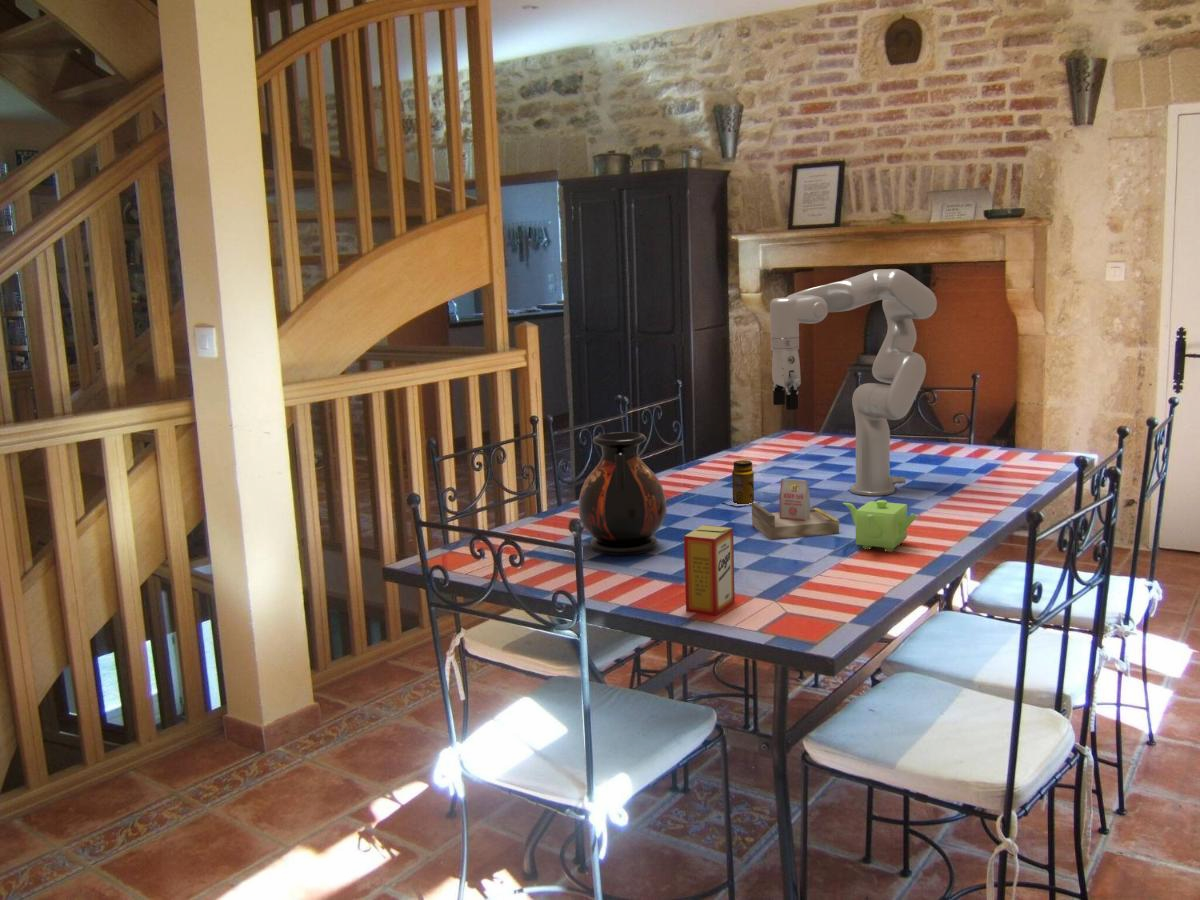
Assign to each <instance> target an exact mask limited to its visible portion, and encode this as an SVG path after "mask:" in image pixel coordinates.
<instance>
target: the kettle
mask: <svg viewBox="0 0 1200 900" xmlns="http://www.w3.org/2000/svg"><path fill="white" fill-rule="evenodd" d="M842 505H844V506H846V507H847V508H848V510H849V511H850V513H851V514H850V515H851V517H852V521H853V525H855V545H859V546H862V547H861V549H862V548H864V549H863V550H866V549H867V550H870V549H869V548H871V549H872V548H873V547H875V548H876V547H877V548H883V549H884V550H886V551H894V552H895V548H896V547H898V546H897V545H900V544H901V543H902V542H903V541H904V540H906V539H907V537H908V536H907V535H908V532H907V531H908V528H909V527H910V526H911V525H912V524H913V522H914V521H915V520H917V518H918V514H915V513H912V512H911V514H910V515H909V516H908V504H906V503H896V502H888V501H887V500H885V499H877V500H876V501H872V500H870V501H868V502H865V504H863V505H862V506H861V507H859V508H858V509H857V508H856V506H855V505H854V504H852V503H849V502H842ZM865 548H866V549H865ZM886 551H885V552H886Z"/></svg>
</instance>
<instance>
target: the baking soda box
mask: <svg viewBox="0 0 1200 900" xmlns="http://www.w3.org/2000/svg"><path fill="white" fill-rule="evenodd" d="M734 549H735V548H734V527H732V526H731V527H730V526H721V525H720V526H719V525H709V524H701V526H699V527H697V528H695V529H693V530H692V531H690V532H688V533H687V534H685V535H684V536H683V552H684V553H683V554H684V556H683V557H684V558H683V559H684V584H685V585H684V587H685V612H688V613H695V614H701V615H708V616H718V615H719V614H721V612H723V611H724V610H725V609H727V608H728V607H729V606H731V605H732V604H733V603H735V599H736V598H735V560H734V559H735V558H734V557H735V555H734V554H735V553H734V551H735V550H734Z"/></svg>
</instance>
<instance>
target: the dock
mask: <svg viewBox="0 0 1200 900" xmlns="http://www.w3.org/2000/svg"><path fill="white" fill-rule="evenodd" d="M751 526H752V527H753V526H754V527H755V530H757V531H758V530H759V531H758V532H760V533H761V532H762V533H763V534H762V533H761V534H762V535H763V536H765V535H766V536H767V537H766V536H765V537H766V538H768V539H769V540H770V539H772V540H779V539H778V538H783V539H790V538H791V537H793V538H801V536H804V537H812V536H814V537H815V536H824V535H832V534H833V533H836V534H839V533H840V519H837V518H836V517H834V516H833V515H830V514H829V513H827V512H826V511H824V510H822V509H821V508H819V507H813V508H812V509H811V508H810V518H808V519H807V520H805V521H801V520H791V519H781V518H780V511H777V512H770V511H769V510H767V509H766V508H764V507H763V506H761V505H760V504H759V503H752V505H751ZM754 527H753V528H754Z"/></svg>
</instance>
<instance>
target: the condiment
mask: <svg viewBox="0 0 1200 900" xmlns="http://www.w3.org/2000/svg"><path fill="white" fill-rule="evenodd" d="M732 468H733V470H732V473H731V477H732V478H731V479H732V484H731V485H732V486H731V487H732V488H731V489H732V500H733V502H734V503H737V504H749V503H753V502H754V501H755V489H754V488H755V486H754V485H755V481H754V480H755V479H754V476H755V473H754V470H753V462H752V461H751V460H746V459H745V460H743V459H742V460H734V461H733V467H732Z"/></svg>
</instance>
